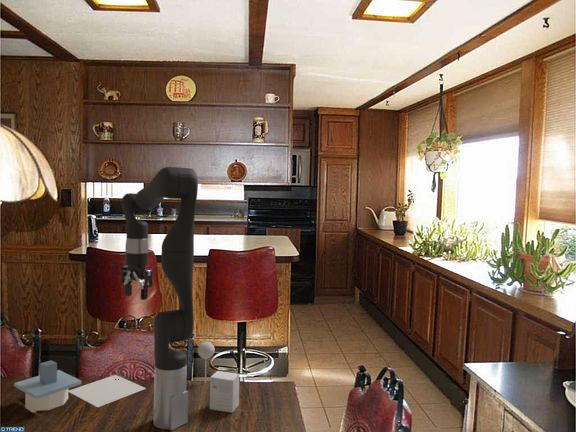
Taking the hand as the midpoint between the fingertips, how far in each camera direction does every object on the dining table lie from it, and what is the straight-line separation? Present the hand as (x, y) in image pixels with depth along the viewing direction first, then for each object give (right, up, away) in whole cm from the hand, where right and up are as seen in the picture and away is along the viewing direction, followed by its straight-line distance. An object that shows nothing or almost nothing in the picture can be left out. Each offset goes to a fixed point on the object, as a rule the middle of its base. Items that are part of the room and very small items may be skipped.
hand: (135, 297), depth 155 cm
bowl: (-23, -31, -14) cm, 41 cm away
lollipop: (+23, -32, +5) cm, 40 cm away
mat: (-8, -31, -4) cm, 32 cm away
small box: (+32, -33, -12) cm, 48 cm away
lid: (-23, -25, -15) cm, 37 cm away
